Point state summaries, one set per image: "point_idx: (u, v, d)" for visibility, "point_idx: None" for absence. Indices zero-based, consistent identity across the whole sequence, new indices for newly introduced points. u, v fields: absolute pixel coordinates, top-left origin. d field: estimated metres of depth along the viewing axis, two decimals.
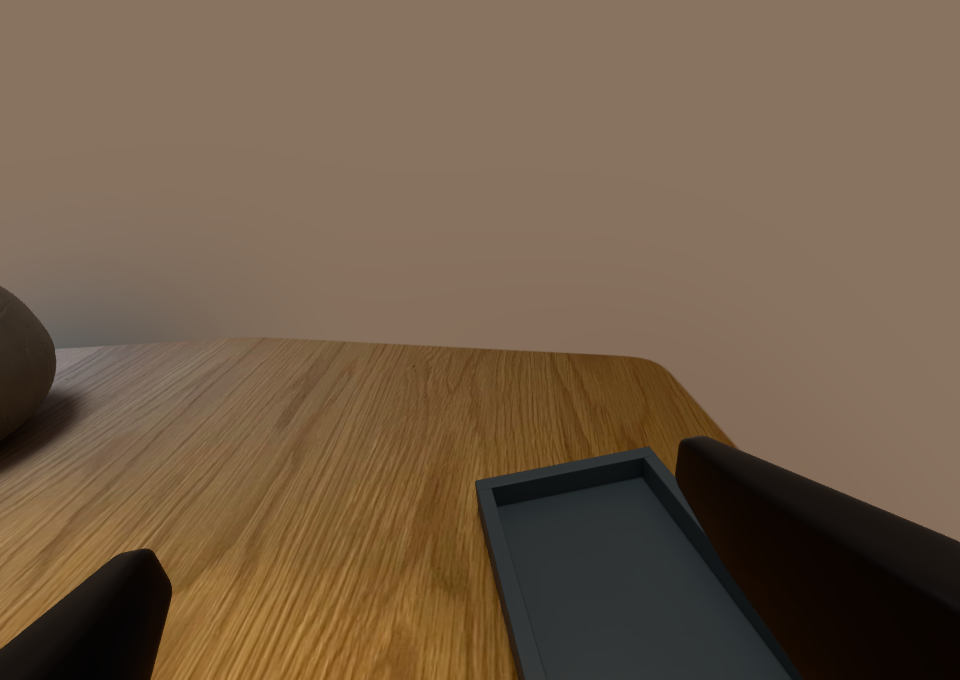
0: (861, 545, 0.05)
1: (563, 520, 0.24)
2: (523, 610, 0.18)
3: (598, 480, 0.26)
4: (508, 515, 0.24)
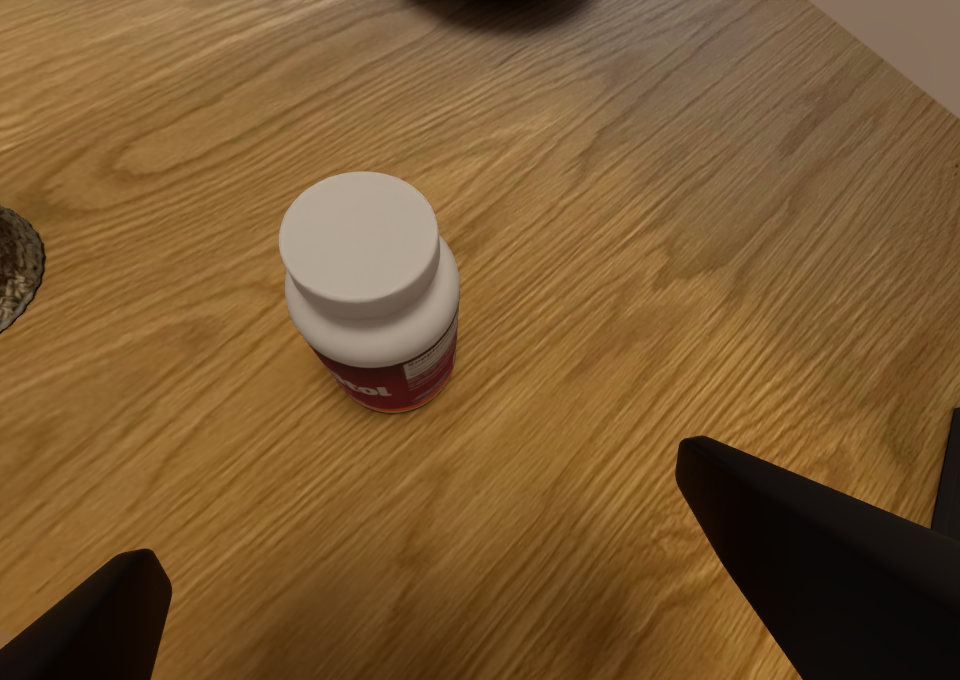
0: (861, 545, 0.05)
1: None
2: None
3: None
4: None
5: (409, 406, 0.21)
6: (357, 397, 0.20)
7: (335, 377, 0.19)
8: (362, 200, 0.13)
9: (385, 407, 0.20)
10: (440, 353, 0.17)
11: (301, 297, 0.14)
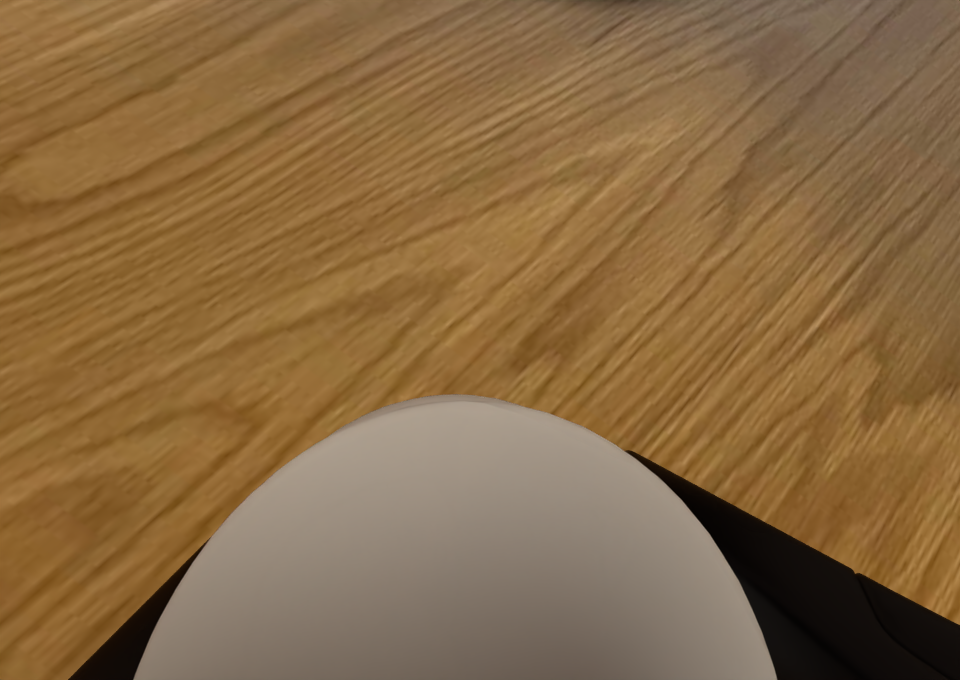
0: (753, 573, 0.05)
1: None
2: None
3: None
4: None
5: None
6: None
7: None
8: (471, 548, 0.03)
9: None
10: None
11: None
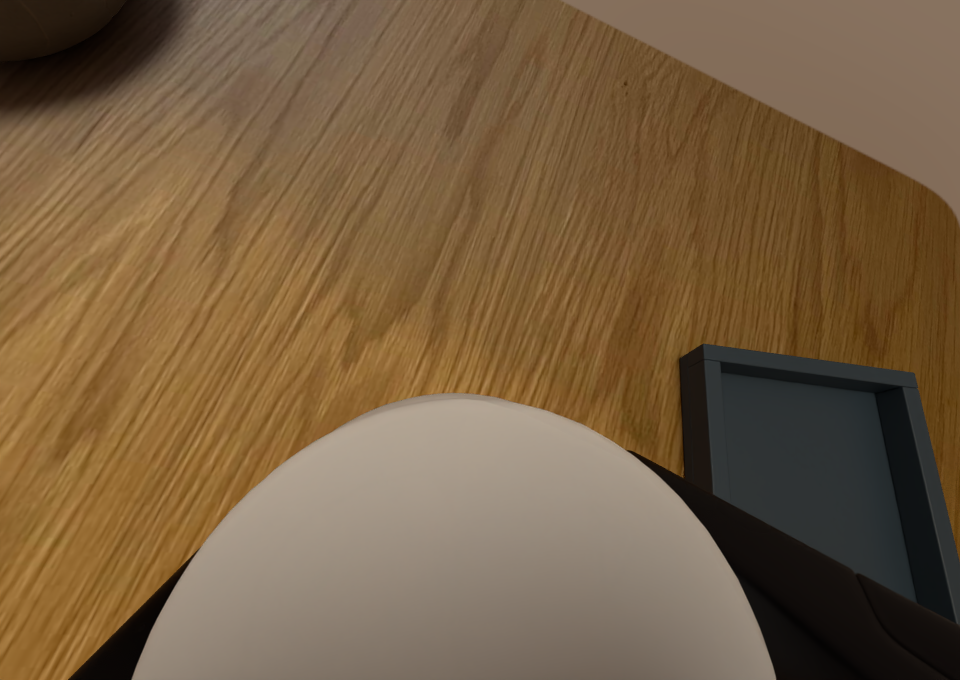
0: (753, 572, 0.05)
1: (774, 415, 0.22)
2: None
3: (829, 384, 0.22)
4: None
5: None
6: None
7: None
8: (470, 546, 0.03)
9: None
10: None
11: None
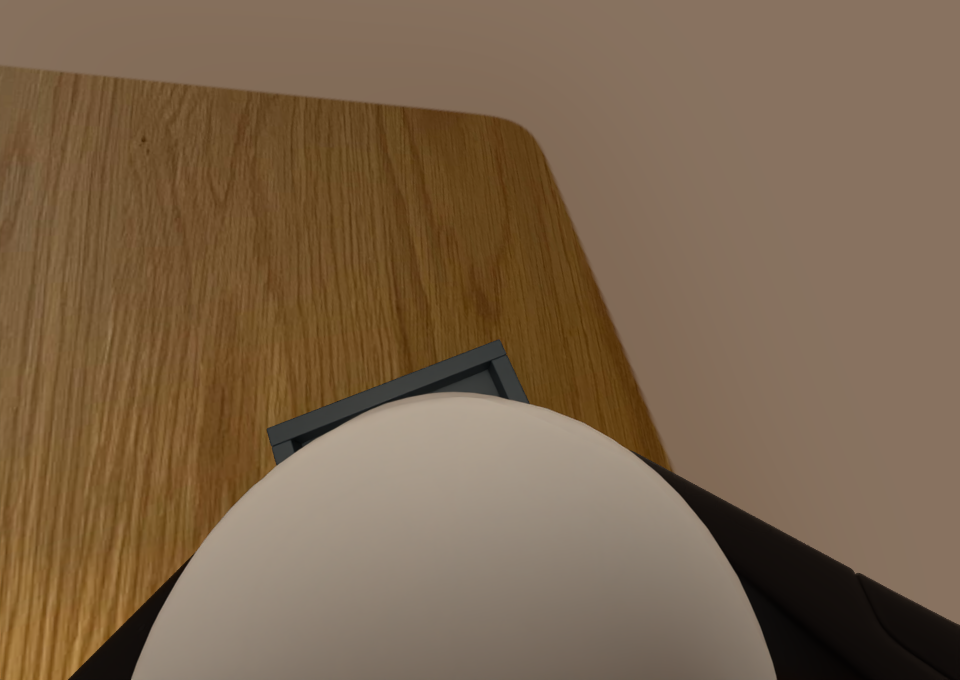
0: (753, 572, 0.05)
1: None
2: None
3: (434, 388, 0.20)
4: None
5: None
6: None
7: None
8: (470, 543, 0.03)
9: None
10: None
11: None
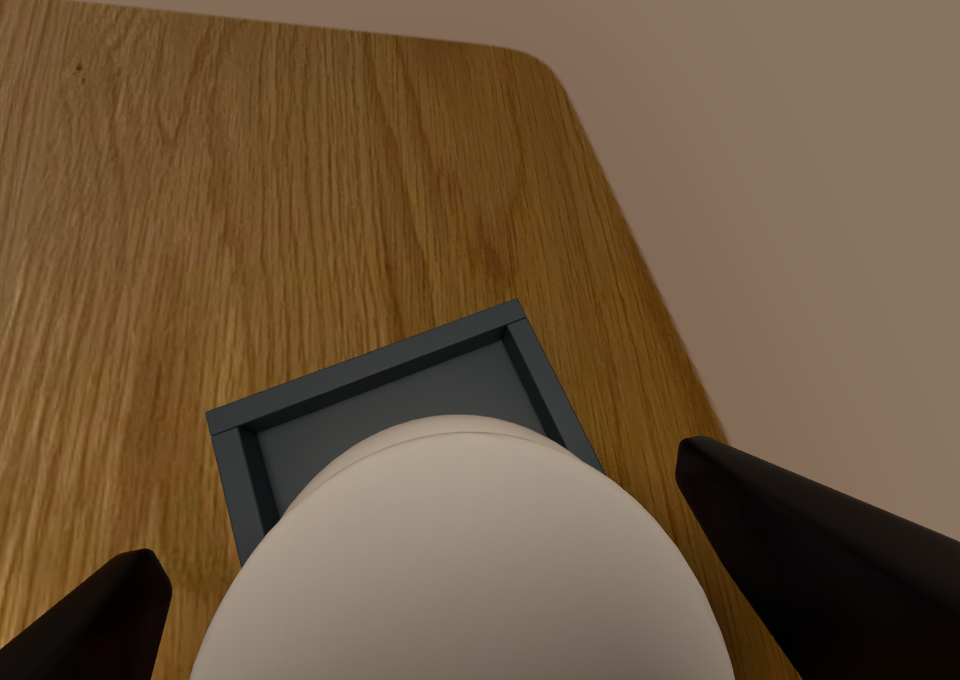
0: (861, 545, 0.05)
1: None
2: None
3: (432, 362, 0.16)
4: (283, 446, 0.15)
5: None
6: None
7: None
8: (473, 562, 0.04)
9: None
10: None
11: None
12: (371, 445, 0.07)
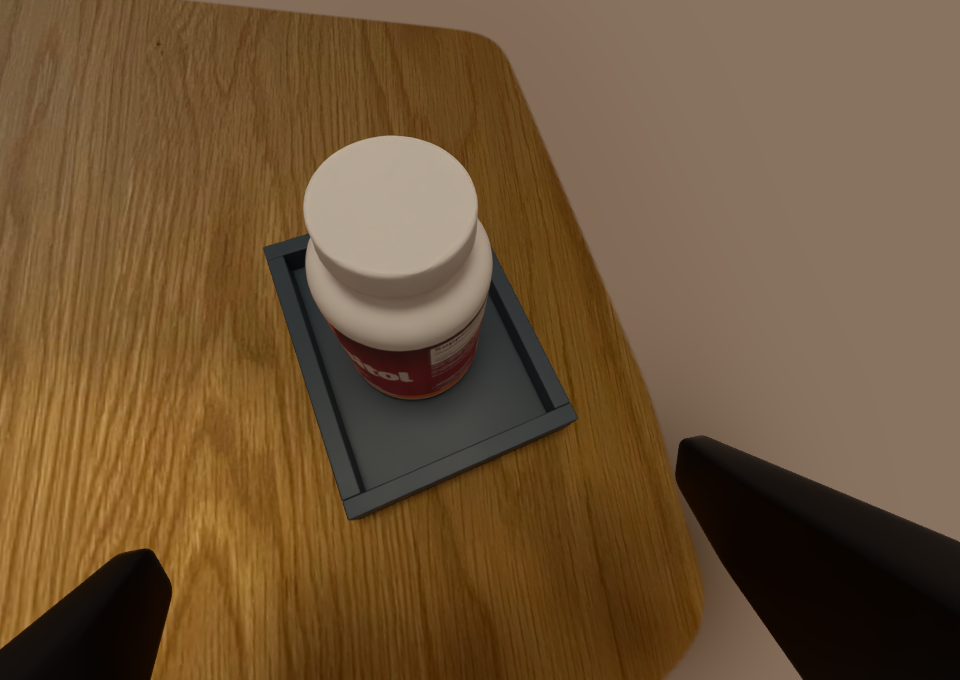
0: (861, 545, 0.05)
1: None
2: (321, 385, 0.20)
3: None
4: None
5: (428, 393, 0.20)
6: (375, 382, 0.19)
7: (353, 360, 0.18)
8: (394, 167, 0.12)
9: (404, 393, 0.19)
10: (467, 338, 0.16)
11: (324, 272, 0.13)
12: None
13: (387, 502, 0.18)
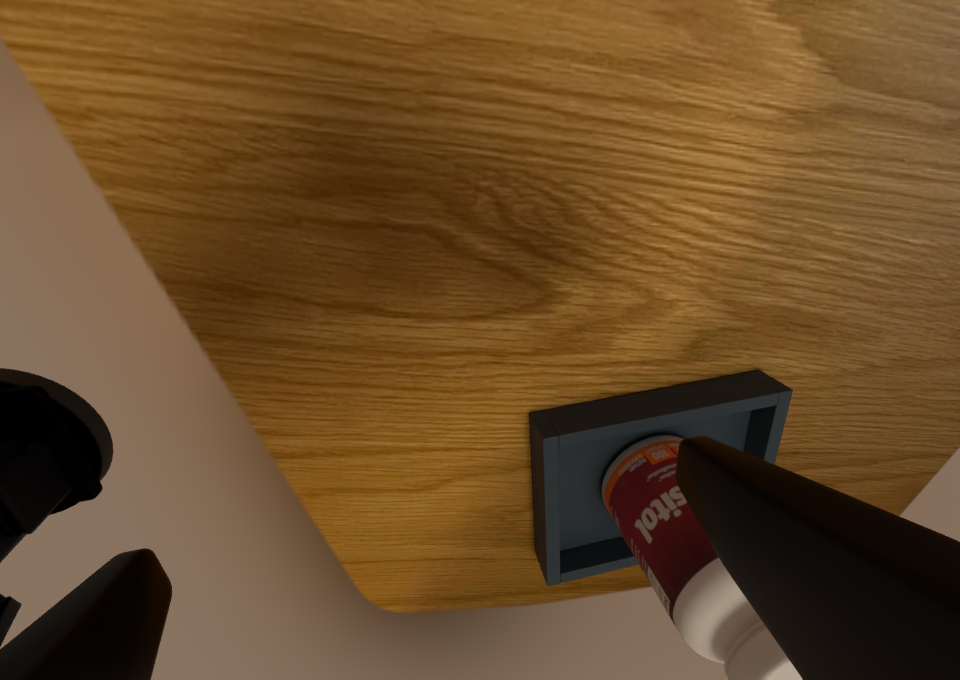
0: (861, 545, 0.05)
1: None
2: (653, 427, 0.22)
3: None
4: None
5: (609, 497, 0.24)
6: (639, 477, 0.22)
7: (670, 486, 0.21)
8: None
9: (618, 486, 0.23)
10: None
11: None
12: None
13: (544, 465, 0.22)
